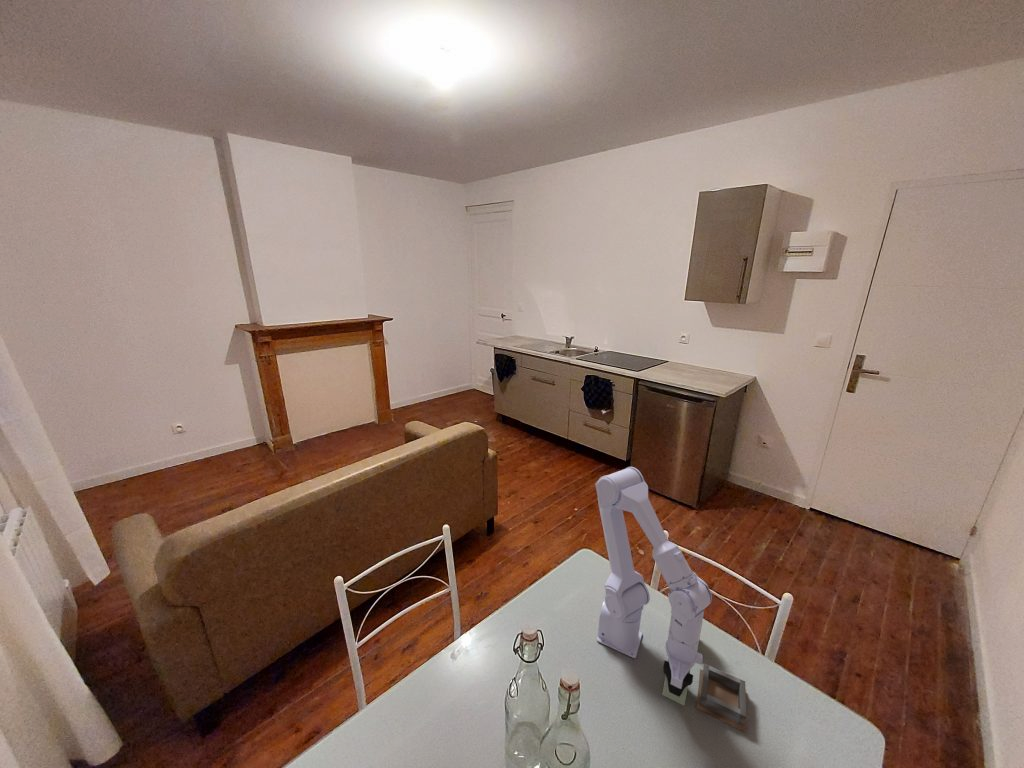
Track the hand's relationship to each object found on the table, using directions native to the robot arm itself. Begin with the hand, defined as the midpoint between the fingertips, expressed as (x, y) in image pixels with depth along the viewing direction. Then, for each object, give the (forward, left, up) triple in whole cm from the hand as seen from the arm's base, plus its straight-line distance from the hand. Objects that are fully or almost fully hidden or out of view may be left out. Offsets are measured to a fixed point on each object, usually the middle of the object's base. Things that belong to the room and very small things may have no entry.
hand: (675, 682), depth 83 cm
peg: (0, 0, -2) cm, 2 cm away
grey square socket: (+9, +3, -2) cm, 10 cm away
